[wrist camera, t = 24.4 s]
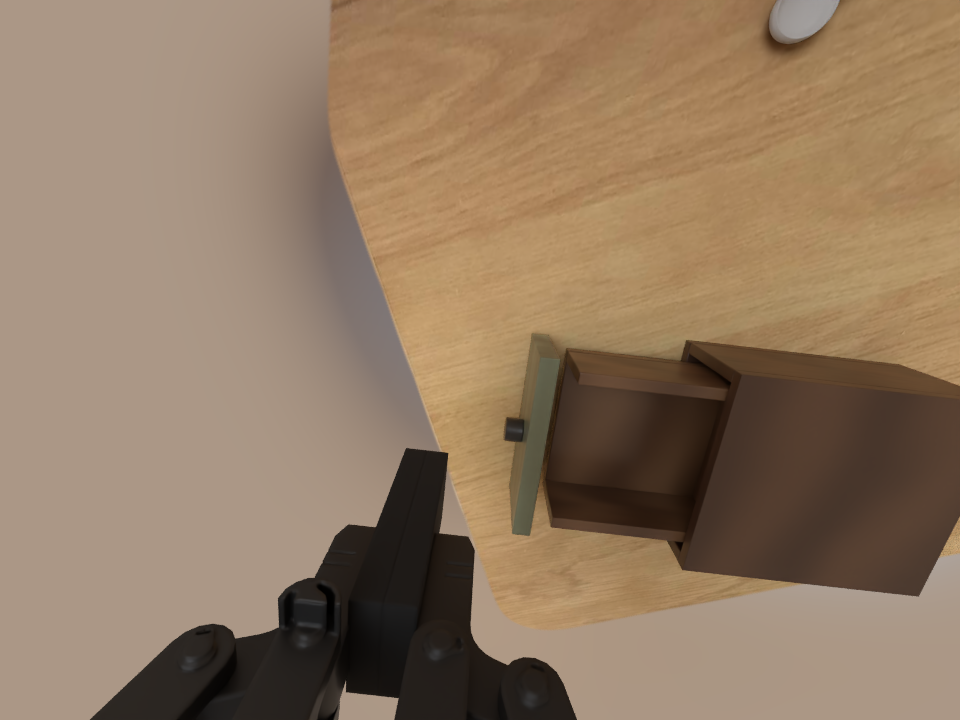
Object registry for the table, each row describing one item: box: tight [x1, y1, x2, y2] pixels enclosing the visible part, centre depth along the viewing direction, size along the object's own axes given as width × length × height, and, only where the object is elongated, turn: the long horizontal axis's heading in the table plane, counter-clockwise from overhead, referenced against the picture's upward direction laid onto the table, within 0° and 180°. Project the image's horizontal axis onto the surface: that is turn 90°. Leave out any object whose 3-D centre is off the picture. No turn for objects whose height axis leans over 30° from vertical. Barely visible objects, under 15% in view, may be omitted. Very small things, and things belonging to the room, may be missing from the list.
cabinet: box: [667, 340, 960, 596], centre depth 31 cm, size 16×14×8 cm
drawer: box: [504, 334, 731, 542], centre depth 31 cm, size 16×12×6 cm
